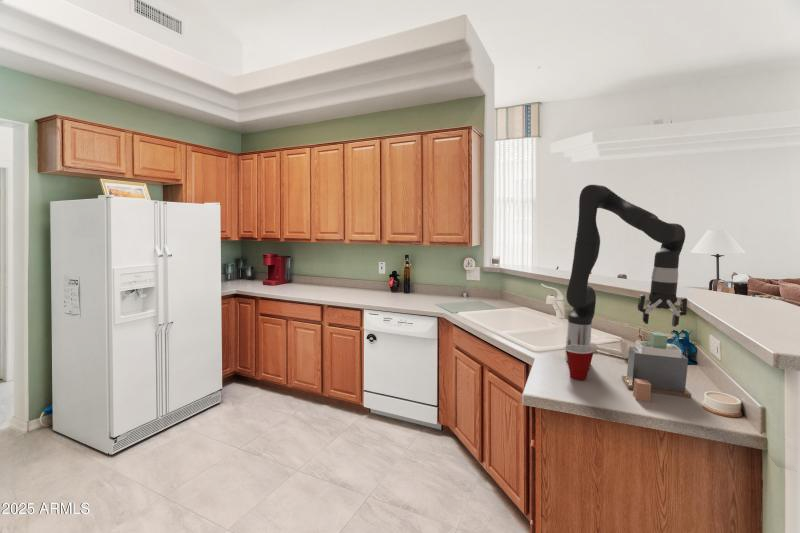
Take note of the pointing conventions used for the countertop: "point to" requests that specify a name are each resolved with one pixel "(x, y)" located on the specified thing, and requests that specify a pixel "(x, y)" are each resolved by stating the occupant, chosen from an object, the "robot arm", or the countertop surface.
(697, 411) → the countertop surface
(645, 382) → the rust block
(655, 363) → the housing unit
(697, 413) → the countertop surface
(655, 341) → the sage block
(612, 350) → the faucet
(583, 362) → the plastic cup
